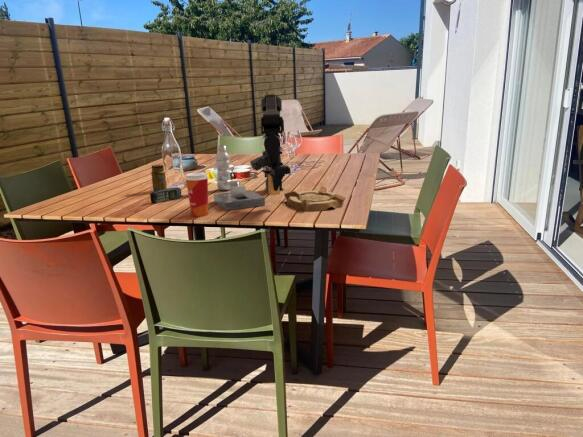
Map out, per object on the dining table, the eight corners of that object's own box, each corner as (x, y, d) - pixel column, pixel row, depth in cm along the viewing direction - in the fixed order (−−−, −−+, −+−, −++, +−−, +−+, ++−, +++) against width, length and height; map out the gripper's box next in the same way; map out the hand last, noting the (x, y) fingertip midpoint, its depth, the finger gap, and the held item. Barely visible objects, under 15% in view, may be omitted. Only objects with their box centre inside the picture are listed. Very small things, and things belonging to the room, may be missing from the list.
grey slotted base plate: (251, 196, 185) (250, 178, 183) (265, 205, 171) (264, 185, 169) (214, 201, 178) (212, 182, 176) (225, 210, 164) (224, 189, 162)
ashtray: (285, 197, 184) (285, 185, 182) (341, 196, 183) (342, 185, 181) (282, 212, 161) (282, 199, 160) (347, 211, 160) (347, 198, 159)
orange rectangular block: (276, 192, 168) (275, 172, 165) (279, 194, 165) (279, 173, 163) (268, 193, 166) (267, 173, 164) (271, 195, 164) (271, 174, 161)
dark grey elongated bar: (151, 193, 175) (184, 186, 185) (148, 192, 177) (180, 185, 187) (153, 205, 176) (185, 197, 186) (149, 204, 178) (181, 196, 188)
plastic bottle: (229, 191, 195) (226, 146, 190) (215, 191, 197) (211, 146, 191) (234, 188, 201) (231, 145, 196) (220, 188, 203) (217, 145, 197)
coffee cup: (190, 212, 163) (186, 172, 159) (212, 211, 164) (209, 171, 160) (186, 218, 155) (182, 176, 151) (210, 217, 156) (206, 175, 152)
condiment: (167, 189, 204) (164, 163, 201) (169, 192, 196) (166, 166, 193) (151, 190, 202) (148, 164, 198) (152, 194, 194) (149, 167, 191)
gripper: (243, 147, 166) (245, 187, 170) (261, 153, 149) (263, 197, 154) (270, 145, 170) (272, 184, 174) (290, 150, 154) (291, 193, 158)
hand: (274, 189), depth 165 cm, fingers closed on orange rectangular block, 3 cm apart
